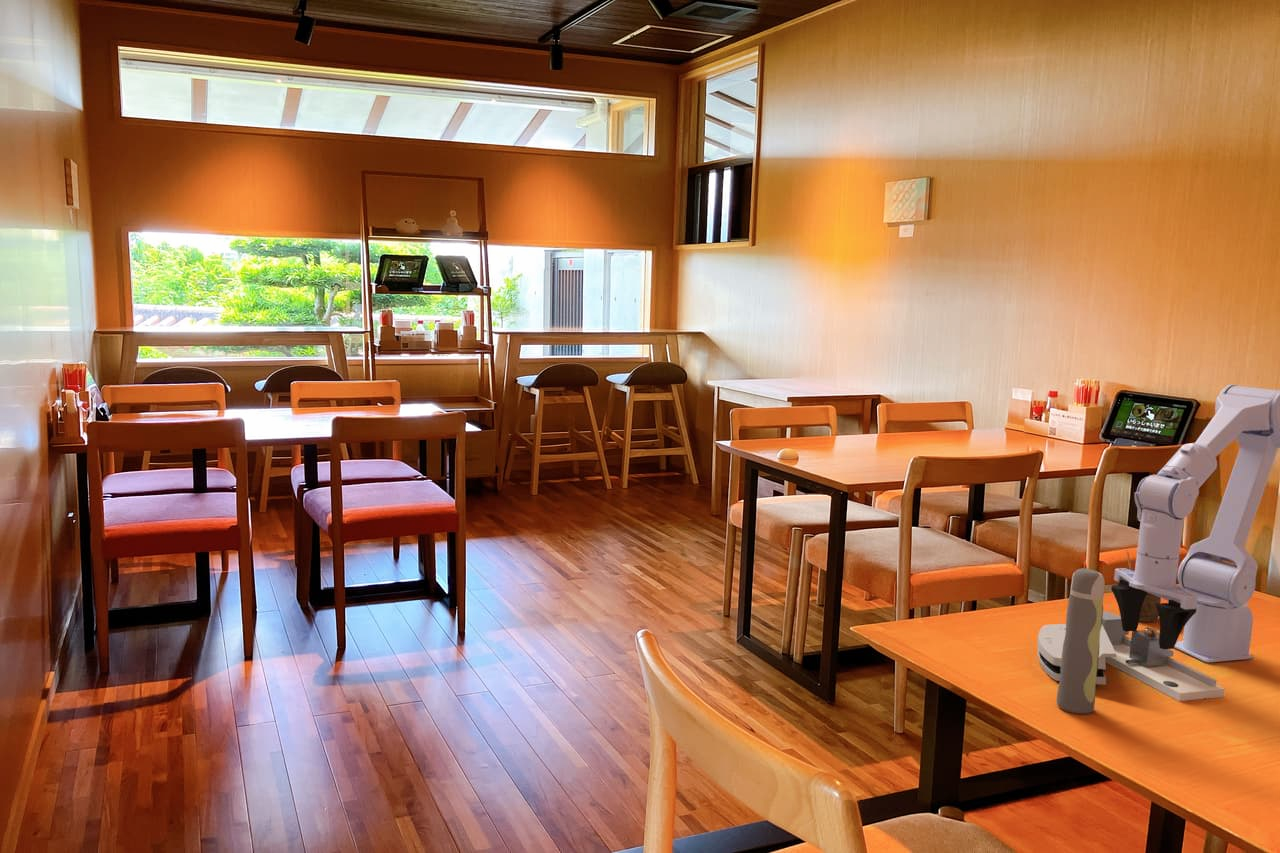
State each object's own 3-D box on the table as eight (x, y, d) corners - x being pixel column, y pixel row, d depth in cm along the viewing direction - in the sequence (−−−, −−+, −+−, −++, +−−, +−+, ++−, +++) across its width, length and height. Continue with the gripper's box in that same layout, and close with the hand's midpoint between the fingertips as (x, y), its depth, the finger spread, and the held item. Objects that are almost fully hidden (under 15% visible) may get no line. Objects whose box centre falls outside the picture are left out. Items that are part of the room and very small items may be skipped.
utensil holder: (1160, 625, 175) (1168, 559, 173) (1121, 619, 177) (1128, 554, 175) (1156, 615, 180) (1163, 551, 179) (1118, 609, 183) (1125, 546, 181)
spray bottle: (1100, 710, 138) (1115, 572, 135) (1082, 718, 135) (1098, 578, 132) (1066, 698, 142) (1081, 563, 139) (1049, 706, 139) (1063, 569, 136)
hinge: (1116, 654, 144) (1042, 653, 147) (1117, 685, 144) (1044, 683, 147) (1098, 616, 160) (1032, 615, 162) (1099, 644, 160) (1033, 643, 163)
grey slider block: (1118, 658, 154) (1122, 626, 153) (1157, 655, 156) (1161, 623, 155) (1135, 667, 151) (1139, 634, 150) (1175, 664, 153) (1179, 631, 152)
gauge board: (1074, 645, 163) (1077, 613, 162) (1114, 642, 165) (1118, 610, 165) (1179, 701, 142) (1183, 664, 142) (1223, 696, 144) (1228, 660, 144)
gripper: (1102, 542, 157) (1093, 624, 159) (1173, 568, 143) (1162, 658, 145) (1138, 541, 159) (1129, 622, 161) (1212, 566, 145) (1201, 655, 147)
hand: (1147, 639), depth 153 cm, fingers open, 7 cm apart
